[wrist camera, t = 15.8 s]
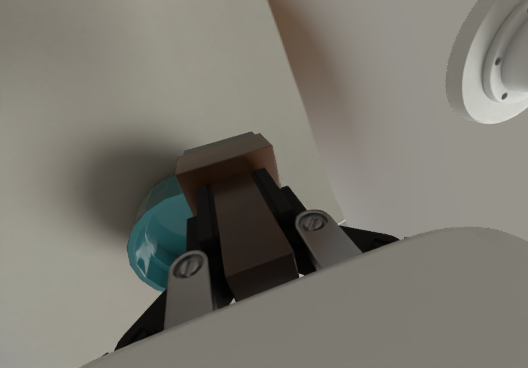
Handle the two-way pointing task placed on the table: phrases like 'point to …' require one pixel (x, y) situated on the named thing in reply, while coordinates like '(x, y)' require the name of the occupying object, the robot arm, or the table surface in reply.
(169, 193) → the bowl
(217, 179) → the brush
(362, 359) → the robot arm
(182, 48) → the table surface
